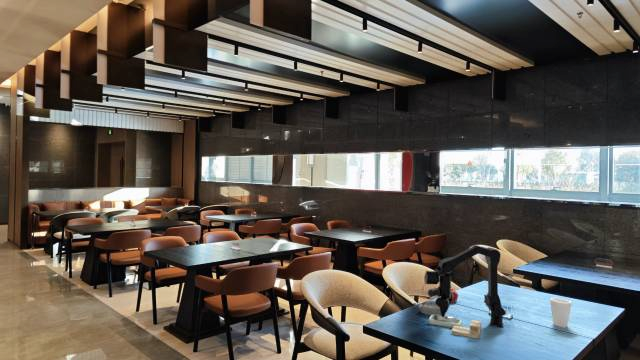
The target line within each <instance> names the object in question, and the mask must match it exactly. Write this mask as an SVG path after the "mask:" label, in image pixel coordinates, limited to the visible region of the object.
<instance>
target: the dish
mask: <svg viewBox="0 0 640 360" xmlns="http://www.w3.org/2000/svg"><path fill="white" fill-rule="evenodd" d="M418 309H419V310H420V313H421V314H424V315H427V316H431V315H435V314H436V315H441V311H440V307H439V306H438V305H436V300H427V301H426V302H425V304H424V305H423V304H422V303H420V304H419V305H418Z"/></svg>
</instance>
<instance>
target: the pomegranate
mask: <svg viewBox="0 0 640 360" xmlns="http://www.w3.org/2000/svg"><path fill="white" fill-rule="evenodd" d="M451 292H453V299H452V301H451V303H456V302H457V301H458V299H459V294H458V292H456V290H455V288H451ZM450 298H451V297H450Z"/></svg>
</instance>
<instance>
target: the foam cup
mask: <svg viewBox="0 0 640 360" xmlns="http://www.w3.org/2000/svg"><path fill="white" fill-rule="evenodd" d="M571 307H572V301H571V300H570V299H569V300H568V299H566V298H563V297H562V298H561V297H560V298H559V297H551V298H550V308H551V316H552V317H551V318H552V324H553V326H556V327H558V326H559V328H568V325H569V319H570V313H571Z"/></svg>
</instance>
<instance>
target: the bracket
mask: <svg viewBox="0 0 640 360" xmlns="http://www.w3.org/2000/svg"><path fill="white" fill-rule="evenodd" d="M469 326H470V327H465V326H462V325H461V326H455V325H454V326H453V328H451V335H457V336H461V337H468V338H473V339H477V340H478V339H479V340H480V338H481V335H482V321H481V320H477V319H476V320H475V319H471V322H470V325H469Z"/></svg>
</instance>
